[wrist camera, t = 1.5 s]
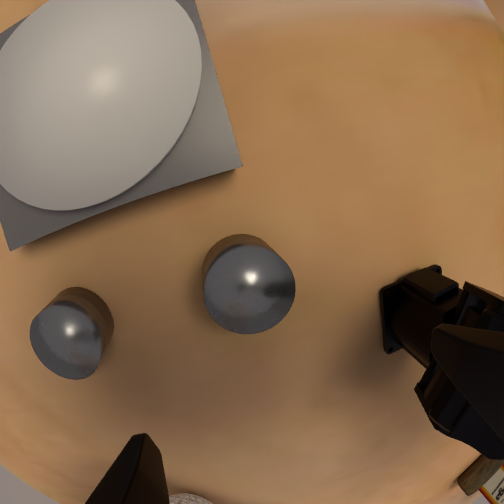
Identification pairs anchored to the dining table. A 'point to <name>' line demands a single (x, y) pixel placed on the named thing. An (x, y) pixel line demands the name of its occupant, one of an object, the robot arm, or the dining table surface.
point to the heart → (187, 499)
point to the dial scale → (104, 110)
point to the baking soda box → (494, 488)
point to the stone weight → (478, 474)
